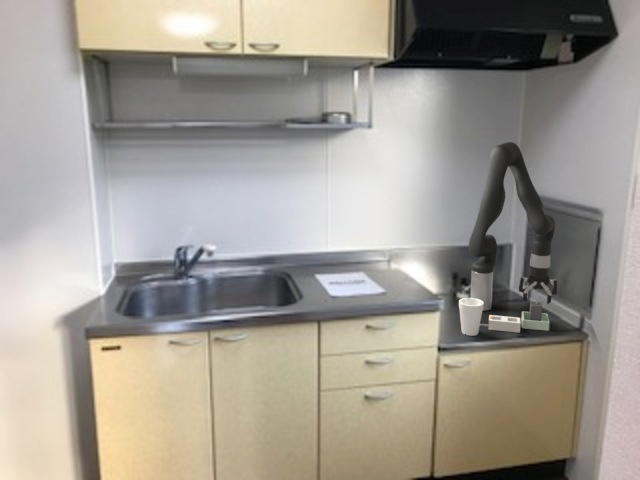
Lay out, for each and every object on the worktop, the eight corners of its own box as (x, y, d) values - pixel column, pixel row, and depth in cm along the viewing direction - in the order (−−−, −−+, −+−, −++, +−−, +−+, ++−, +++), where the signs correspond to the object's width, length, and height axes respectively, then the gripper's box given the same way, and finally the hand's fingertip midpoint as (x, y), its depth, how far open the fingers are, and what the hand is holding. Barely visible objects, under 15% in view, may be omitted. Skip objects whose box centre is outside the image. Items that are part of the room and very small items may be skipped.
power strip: (473, 322, 224) (474, 312, 223) (519, 326, 218) (520, 316, 217) (473, 327, 218) (473, 317, 217) (519, 332, 213) (520, 322, 212)
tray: (521, 319, 226) (521, 311, 225) (546, 321, 223) (547, 313, 222) (522, 328, 217) (522, 320, 216) (548, 330, 214) (549, 322, 213)
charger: (529, 320, 223) (530, 300, 221) (539, 321, 222) (541, 301, 220) (529, 325, 218) (531, 304, 216) (540, 327, 217) (542, 305, 215)
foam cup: (467, 338, 208) (468, 307, 205) (453, 330, 217) (454, 300, 214) (487, 334, 212) (488, 303, 209) (472, 326, 220) (473, 296, 217)
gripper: (558, 263, 216) (554, 300, 220) (520, 260, 220) (517, 297, 224) (560, 268, 209) (556, 307, 213) (521, 266, 213) (518, 304, 217)
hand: (536, 302), depth 218 cm, fingers open, 8 cm apart
